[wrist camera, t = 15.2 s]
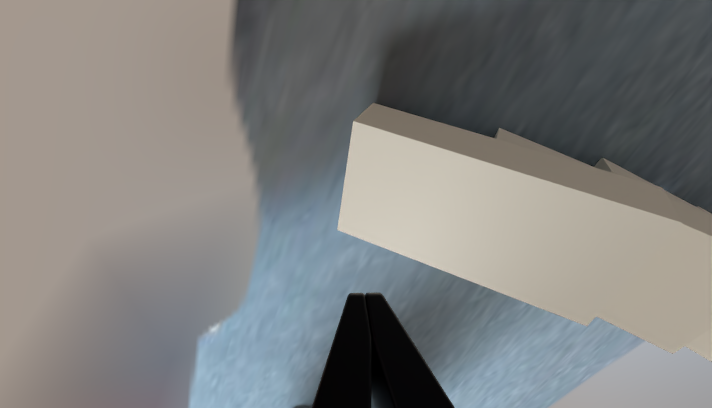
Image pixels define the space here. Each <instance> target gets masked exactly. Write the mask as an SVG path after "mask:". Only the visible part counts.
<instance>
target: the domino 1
mask: <svg viewBox="0 0 712 408" xmlns="http://www.w3.org/2000/svg"><path fill="white" fill-rule="evenodd" d="M681 224H682V221H681V219H680V218H679V216H678V214H677V212H676V211H675V209H674V207H673V205H672V204H671V202H670V200H669V198H668V197H667V195H666V193H665V191H664V190H663V188H662V187H659V186H655V185H652V184H649V183H645V182H642V181H638V180H635V179H632V178H628V177H625V176H621V175H618V174H615V173H611V172H608V171H604V170H601V169H597V168H594V167H591V166H587V165H584V164H580V163H577V162H574V161H570V160H567V159H563V158H560V157H557V156H553V155H550V154H546V153H543V152H539V151H536V150H533V149H529V148H526V147H522V146H519V145H516V144H512V143H509V142H505V141H502V140H499V139H495V138H492V137H488V136H485V135H481V134H478V133H475V132H471V131H468V130H464V129H461V128H458V127H454V126H451V125H447V124H444V123H440V122H437V121H434V120H430V119H427V118H423V117H420V116H417V115H413V114H410V113H406V112H403V111H400V110H396V109H393V108H389V107H386V106H382V105H379V104H376V103H372V104H371V105H370V106H369V107H368V108H367V109H366V110H365V111H364V112H363V113H362V114H360V115H359V116H358V117H357V118H356V119H355V120H354V121H353V127H352V134H351V140H350V147H349V154H348V161H347V168H346V174H345V181H344V188H343V195H342V202H341V208H340V215H339V222H338V229H337V230H339V231H341V232H344V233H347V234H349V235H352V236H354V237H357V238H360V239H362V240H365V241H367V242H370V243H373V244H375V245H378V246H380V247H383V248H386V249H388V250H391V251H393V252H396V253H398V254H401V255H404V256H406V257H409V258H411V259H414V260H417V261H419V262H422V263H424V264H427V265H430V266H432V267H435V268H437V269H440V270H443V271H445V272H448V273H450V274H453V275H455V276H458V277H461V278H463V279H466V280H468V281H471V282H474V283H476V284H479V285H481V286H484V287H487V288H489V289H492V290H494V291H497V292H500V293H502V294H505V295H507V296H510V297H512V298H515V299H518V300H520V301H523V302H525V303H528V304H531V305H533V306H536V307H538V308H541V309H544V310H546V311H549V312H551V313H554V314H557V315H559V316H562V317H564V318H567V319H569V320H572V321H575V322H577V323H580V324H582V325H585V326H588V325H589V323H590V322H591V321H592V320H593V319H594V318H595V317H596V316H597V315H598V314H599V313H600V312H601V310H602V309H603V308H604V307H605V306H606V305H607V304H608V303H609V302H610V301H611V300H612V299H613V297H614V296H615V295H616V294H617V293H618V292H619V291H620V290H621V289H622V288H623V287H624V286H625V284H626V283H627V282H628V281H629V280H630V279H631V278H632V277H633V276H634V275H635V274H636V272H637V271H638V270H639V269H640V268H641V267H642V266H643V265H644V264H645V263H646V262H647V261H648V259H649V258H650V257H651V256H652V255H653V254H654V253H655V252H656V251H657V250H658V249H659V248H660V246H661V245H662V244H663V243H664V242H665V241H666V240H667V239H668V238H669V237H670V236H671V235H672V233H673V232H674V231H675V230H676V229H677V228H678V227H679V226H680V225H681Z"/></svg>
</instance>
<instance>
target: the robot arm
mask: <svg viewBox="0 0 712 408" xmlns="http://www.w3.org/2000/svg"><path fill="white" fill-rule="evenodd" d="M312 408H454V406H453V404H452V403H451V401H450V400H449V398H448V397H447V395H446V393H445V392H444V390H443V389H442V387H441V386H440V384H439V382H438V381H437V379H436V378H435V376H434V375H433V373H432V371H431V370H430V368H429V367H428V365H427V364H426V362H425V360H424V359H423V357H422V356H421V354H420V353H419V351H418V349H417V348H416V346H415V345H414V343H413V342H412V340H411V338H410V337H409V335H408V334H407V332H406V331H405V329H404V327H403V326H402V324H401V323H400V321H399V320H398V318H397V316H396V315H395V313H394V312H393V310H392V309H391V307H390V305H389V304H388V302H387V301H386V299H385V298H384V296H383V295H382V294H381V293H366V294H363V293H350V294H349V295H348V297H347V300H346V303H345V306H344V309H343V313H342V316H341V319H340V322H339V325H338V328H337V331H336V334H335V337H334V340H333V343H332V347H331V350H330V353H329V356H328V359H327V362H326V365H325V368H324V371H323V374H322V377H321V381H320V384H319V387H318V390H317V393H316V396H315V399H314V402H313V405H312Z"/></svg>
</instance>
